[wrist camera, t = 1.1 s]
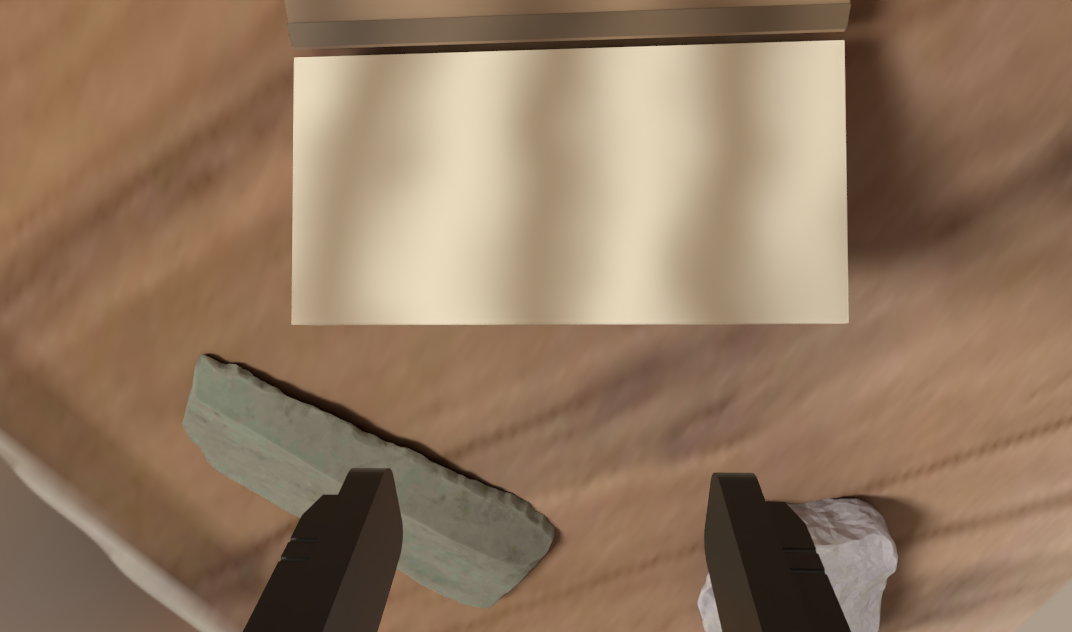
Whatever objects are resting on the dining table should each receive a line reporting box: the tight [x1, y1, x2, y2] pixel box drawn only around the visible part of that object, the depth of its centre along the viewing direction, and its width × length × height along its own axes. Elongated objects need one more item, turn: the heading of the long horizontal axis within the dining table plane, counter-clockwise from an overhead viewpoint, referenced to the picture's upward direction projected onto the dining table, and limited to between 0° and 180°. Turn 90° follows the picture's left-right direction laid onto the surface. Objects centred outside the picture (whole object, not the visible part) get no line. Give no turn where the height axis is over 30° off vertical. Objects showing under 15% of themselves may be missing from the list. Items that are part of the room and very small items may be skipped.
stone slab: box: [182, 355, 555, 608], centre depth 37 cm, size 22×3×10 cm
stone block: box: [698, 498, 898, 632], centre depth 37 cm, size 12×5×10 cm
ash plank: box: [292, 40, 849, 325], centre depth 24 cm, size 20×10×2 cm, turn 92°
